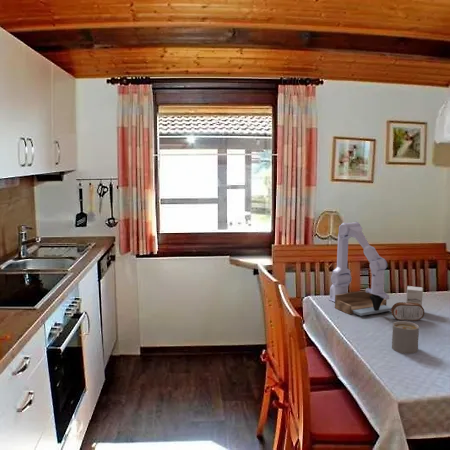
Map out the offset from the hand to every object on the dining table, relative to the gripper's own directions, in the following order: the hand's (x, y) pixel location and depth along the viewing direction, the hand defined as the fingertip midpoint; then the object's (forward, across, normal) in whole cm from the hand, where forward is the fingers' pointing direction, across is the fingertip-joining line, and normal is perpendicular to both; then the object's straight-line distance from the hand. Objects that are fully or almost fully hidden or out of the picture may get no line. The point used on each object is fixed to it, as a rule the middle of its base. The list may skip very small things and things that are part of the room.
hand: (376, 309), depth 246 cm
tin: (+3, -12, -8) cm, 15 cm away
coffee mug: (+3, -38, +19) cm, 42 cm away
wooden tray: (+2, +12, 0) cm, 12 cm away
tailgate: (0, +6, 0) cm, 6 cm away
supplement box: (+3, -6, -19) cm, 20 cm away
